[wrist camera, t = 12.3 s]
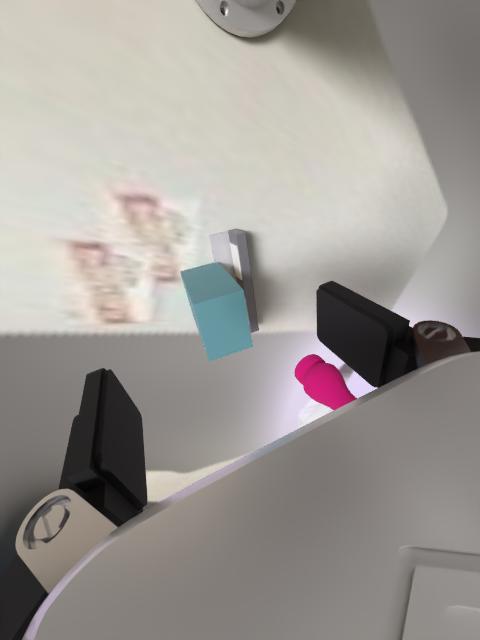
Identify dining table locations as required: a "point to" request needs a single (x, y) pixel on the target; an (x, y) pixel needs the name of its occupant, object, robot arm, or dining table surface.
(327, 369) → the pepper mill
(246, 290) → the rail
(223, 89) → the dining table surface
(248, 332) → the tea box
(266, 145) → the dining table surface
